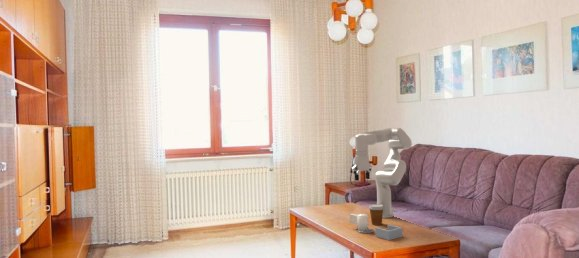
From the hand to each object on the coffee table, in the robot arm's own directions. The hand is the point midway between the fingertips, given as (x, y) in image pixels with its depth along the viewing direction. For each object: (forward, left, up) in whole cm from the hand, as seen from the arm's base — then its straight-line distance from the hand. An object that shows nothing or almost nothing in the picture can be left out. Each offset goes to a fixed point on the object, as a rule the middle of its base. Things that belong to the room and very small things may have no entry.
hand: (362, 179), depth 283 cm
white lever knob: (+14, +11, -28) cm, 33 cm away
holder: (+12, +32, -28) cm, 45 cm away
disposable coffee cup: (-4, +8, -28) cm, 30 cm away
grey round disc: (+14, +16, -28) cm, 35 cm away
